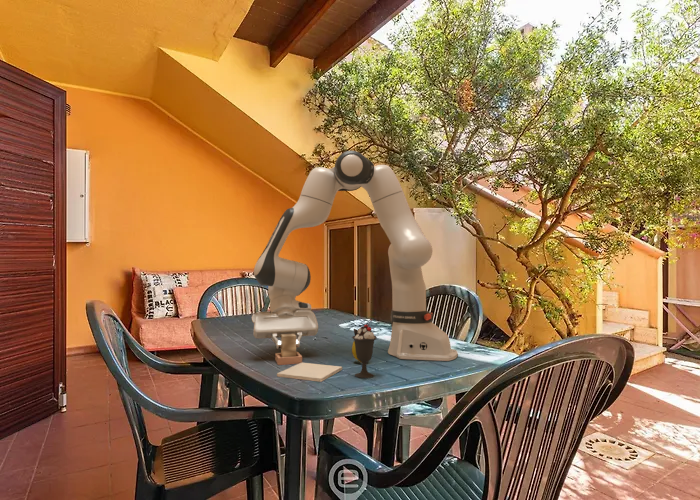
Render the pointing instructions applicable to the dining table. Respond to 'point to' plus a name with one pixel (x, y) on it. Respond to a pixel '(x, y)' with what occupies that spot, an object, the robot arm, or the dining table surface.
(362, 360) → the sundae
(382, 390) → the dining table surface
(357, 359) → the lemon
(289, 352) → the birch post
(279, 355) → the sleeve holder
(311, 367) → the tile
